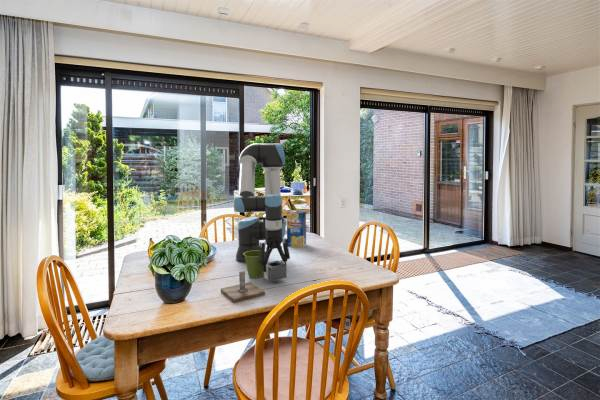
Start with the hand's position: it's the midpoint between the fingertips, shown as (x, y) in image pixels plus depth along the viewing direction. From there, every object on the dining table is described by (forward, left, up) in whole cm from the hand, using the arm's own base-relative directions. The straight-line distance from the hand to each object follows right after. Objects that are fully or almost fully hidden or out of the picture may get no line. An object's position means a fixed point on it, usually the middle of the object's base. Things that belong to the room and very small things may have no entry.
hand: (274, 276), depth 167 cm
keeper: (+5, -18, -3) cm, 19 cm away
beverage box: (-49, +45, -3) cm, 67 cm away
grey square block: (0, 0, 0) cm, 0 cm away
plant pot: (-12, -3, -3) cm, 13 cm away
